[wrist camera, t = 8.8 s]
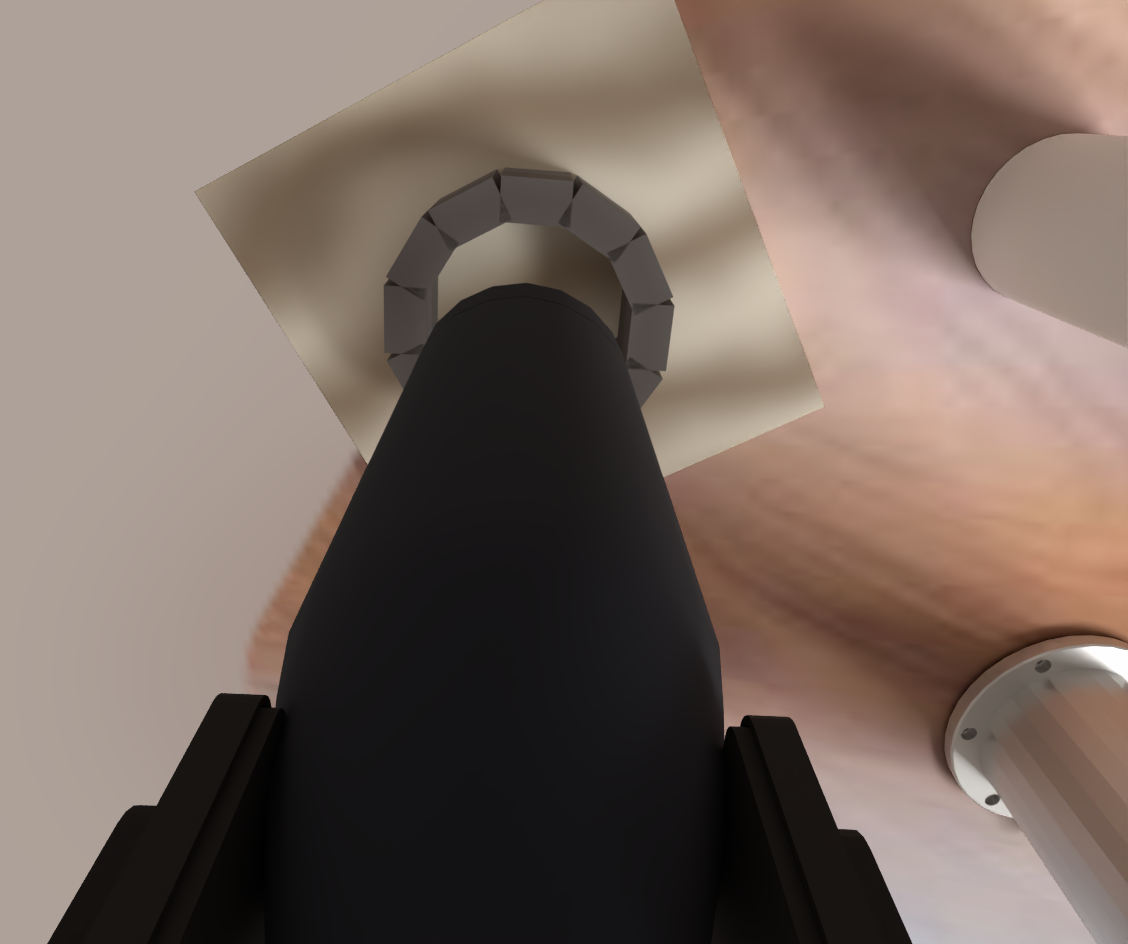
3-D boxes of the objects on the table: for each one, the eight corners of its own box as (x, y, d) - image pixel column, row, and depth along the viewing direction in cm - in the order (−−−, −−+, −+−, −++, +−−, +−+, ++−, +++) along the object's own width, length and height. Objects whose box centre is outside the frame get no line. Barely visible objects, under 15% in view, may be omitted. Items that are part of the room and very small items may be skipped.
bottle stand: (814, 396, 39) (855, 439, 34) (442, 560, 42) (428, 622, 37) (647, -53, 32) (667, -82, 27) (207, 188, 35) (151, 202, 30)
